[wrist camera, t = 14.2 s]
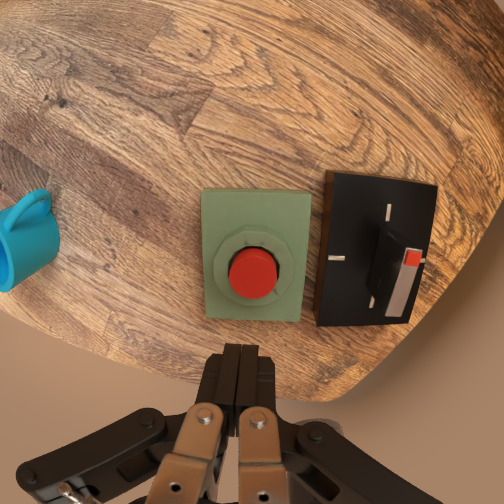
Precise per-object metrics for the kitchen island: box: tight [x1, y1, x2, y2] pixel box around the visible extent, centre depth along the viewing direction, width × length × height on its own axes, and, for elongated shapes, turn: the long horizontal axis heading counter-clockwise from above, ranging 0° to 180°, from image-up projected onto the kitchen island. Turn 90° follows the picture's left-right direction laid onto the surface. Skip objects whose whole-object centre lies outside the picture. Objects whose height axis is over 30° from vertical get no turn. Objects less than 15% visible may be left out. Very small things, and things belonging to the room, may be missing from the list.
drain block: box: [201, 188, 312, 322], centre depth 24 cm, size 12×9×4 cm
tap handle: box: [366, 228, 423, 317], centre depth 20 cm, size 6×2×5 cm, turn 174°
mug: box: [0, 189, 60, 292], centre depth 22 cm, size 12×8×8 cm
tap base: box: [312, 170, 438, 327], centre depth 24 cm, size 14×10×3 cm
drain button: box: [229, 248, 277, 299], centre depth 22 cm, size 4×4×2 cm
